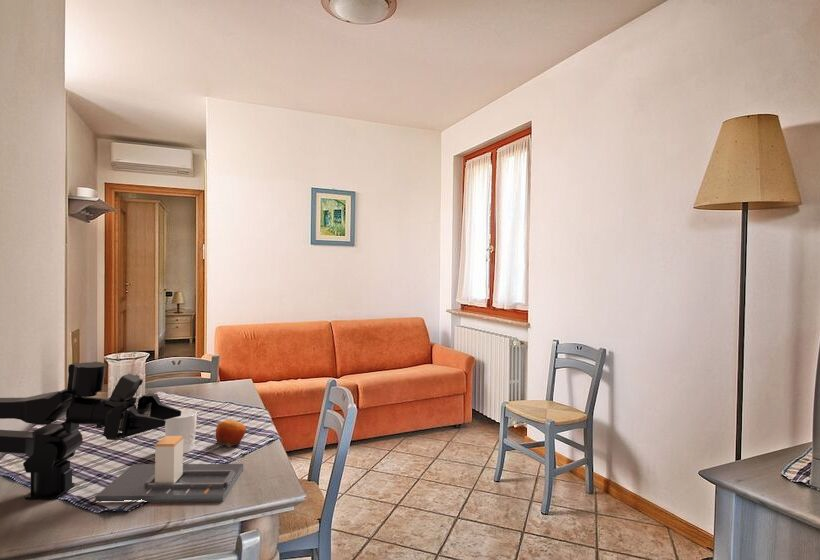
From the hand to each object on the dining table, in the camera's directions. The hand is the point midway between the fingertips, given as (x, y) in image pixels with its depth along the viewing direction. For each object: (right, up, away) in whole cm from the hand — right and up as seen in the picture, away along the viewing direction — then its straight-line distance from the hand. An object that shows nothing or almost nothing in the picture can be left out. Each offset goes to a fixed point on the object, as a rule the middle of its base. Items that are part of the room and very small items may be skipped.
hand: (173, 418), depth 105 cm
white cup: (-10, -16, +23) cm, 30 cm away
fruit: (+2, -16, +28) cm, 32 cm away
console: (-1, -16, +3) cm, 16 cm away
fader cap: (-2, -14, +2) cm, 15 cm away
